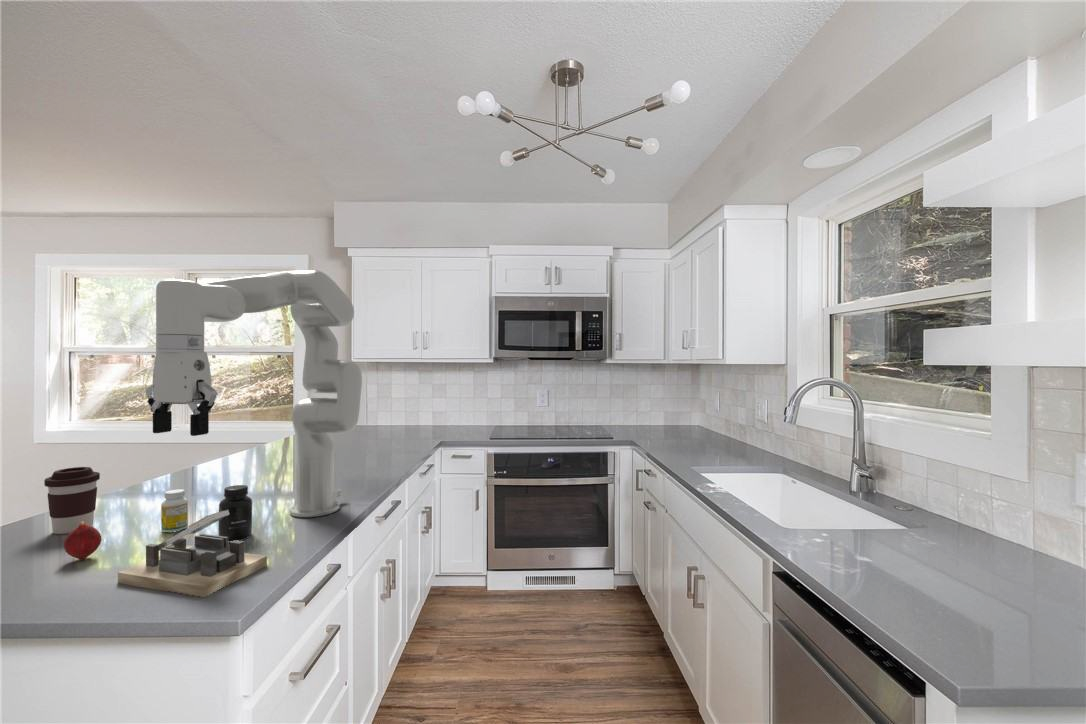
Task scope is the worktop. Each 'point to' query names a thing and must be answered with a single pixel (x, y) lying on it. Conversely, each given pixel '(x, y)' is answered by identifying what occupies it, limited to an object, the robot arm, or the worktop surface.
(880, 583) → the worktop surface
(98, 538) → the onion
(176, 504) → the supplement bottle
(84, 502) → the coffee cup
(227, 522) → the supplement bottle
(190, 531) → the strap
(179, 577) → the heatsink base
